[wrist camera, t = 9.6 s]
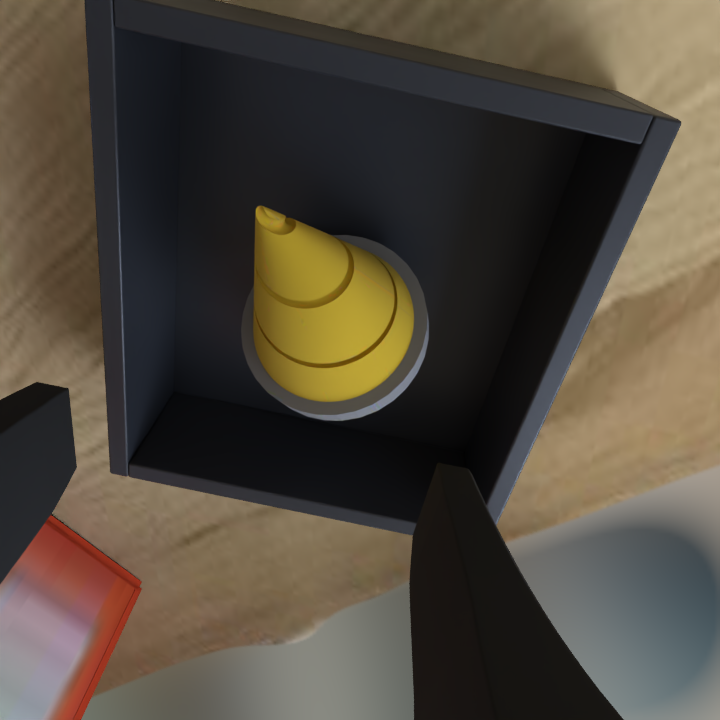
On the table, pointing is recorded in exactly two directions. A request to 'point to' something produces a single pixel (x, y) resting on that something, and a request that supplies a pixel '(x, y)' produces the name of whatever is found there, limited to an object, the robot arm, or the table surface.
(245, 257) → the bin
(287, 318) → the yellow traffic cone
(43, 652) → the file binder
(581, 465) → the table surface
